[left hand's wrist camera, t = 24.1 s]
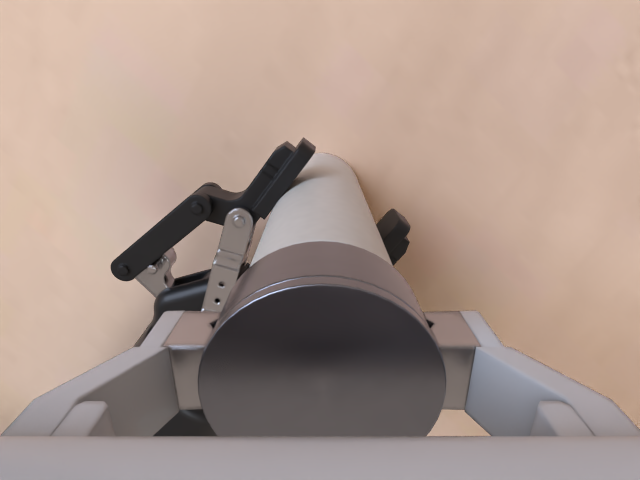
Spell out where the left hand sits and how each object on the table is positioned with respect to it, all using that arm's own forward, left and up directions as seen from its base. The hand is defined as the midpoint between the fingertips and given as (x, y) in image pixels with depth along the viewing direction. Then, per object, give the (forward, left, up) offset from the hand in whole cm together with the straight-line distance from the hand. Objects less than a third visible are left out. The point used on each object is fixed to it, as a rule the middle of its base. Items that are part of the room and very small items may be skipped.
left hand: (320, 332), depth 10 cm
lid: (0, 0, +2) cm, 2 cm away
